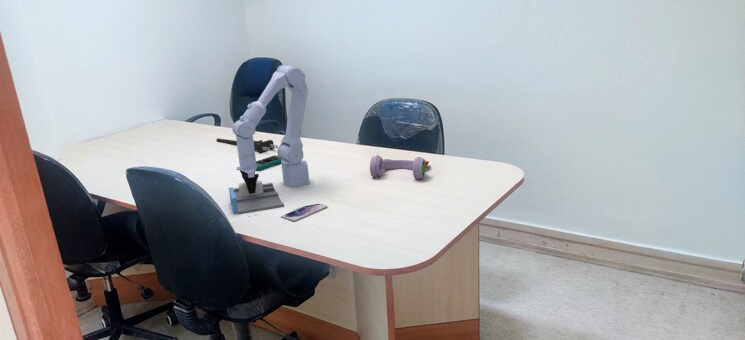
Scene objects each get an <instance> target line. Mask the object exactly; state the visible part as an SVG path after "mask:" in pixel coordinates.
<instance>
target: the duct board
mask: <svg viewBox="0 0 745 340" xmlns="http://www.w3.org/2000/svg"><path fill="white" fill-rule="evenodd" d="M262 185H263V188H268V187H274V183H273V182H268V183H262ZM228 192H229V200H230V205H232V211H233V214H238V215H242V214H247V213H248V214H249V213H254V212H260V211H261V212H262V211H265V210H266V211H267V210H274V209H277V208H278V209H279V208H284V207H285V204H284V202H283V201H282V200H281V198H280V196H279V193H278V191H276V188H274V191H270V192H263V193H262V194H256V195H249V196H243V197H241V196H240V192H239V187H228Z"/></svg>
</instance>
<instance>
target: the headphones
mask: <svg viewBox="0 0 745 340" xmlns="http://www.w3.org/2000/svg"><path fill="white" fill-rule="evenodd" d="M429 163H430V162H429V160H425V158H423V157H422V156H417V157H415V158H414V160H410V159H406V160H405V159H389V158H385V159H383V157H382V156H380V155H379V154H378V155H377V154H376V155H375V156H372V157H371V158H370V162H369V171H370V175H371V177H374V178H377V179H378V178H380V177H382V175H383V171H384V170H394V169H395V170H397V169H398V170H400V169H403V170H411V171H412V176H413V178H414V179H416V180H421V179H424V177H425V175H426V167H427V166H428V165H429Z"/></svg>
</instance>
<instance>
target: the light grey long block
mask: <svg viewBox="0 0 745 340" xmlns="http://www.w3.org/2000/svg"><path fill="white" fill-rule="evenodd" d="M262 184H263V181H262V180H261V179H259V180H257V182H256V192H255V193H253V194H249V192H248V189H247V185H246V183H245V182H241V183H238V188H239V192H240V196H241V197H243V196H249V195H256V194H262V193H263V192H270V191H274V189H275V187H274V186H273V187H268V188H263V185H262Z"/></svg>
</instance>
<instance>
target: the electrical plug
mask: <svg viewBox="0 0 745 340" xmlns="http://www.w3.org/2000/svg"><path fill="white" fill-rule="evenodd" d="M253 141H254V149H255V152H258V154H264V153H266V152H270V151H272V150H274V149H278V147H279V145H277V144H274V141H273V140H272V139H268V140H265V141H263V140H262V139H260V140H253ZM216 142H218V143H223V144H227V145H228V144H229V145H236V146H237V140H233V139H226V138H225V139H224V138H219V137H218V138H216Z"/></svg>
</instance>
